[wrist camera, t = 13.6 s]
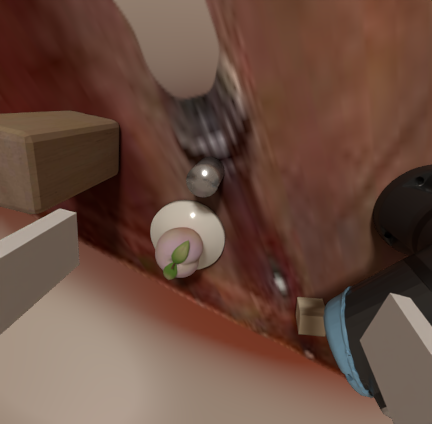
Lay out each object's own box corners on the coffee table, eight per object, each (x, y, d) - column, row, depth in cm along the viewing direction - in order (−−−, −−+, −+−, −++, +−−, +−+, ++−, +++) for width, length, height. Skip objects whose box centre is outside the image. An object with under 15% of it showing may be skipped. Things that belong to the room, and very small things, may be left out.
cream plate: (232, 210, 47) (231, 213, 46) (217, 273, 54) (216, 277, 52) (156, 191, 48) (153, 194, 47) (150, 255, 55) (147, 259, 53)
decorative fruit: (172, 210, 48) (151, 235, 39) (213, 224, 47) (201, 253, 38) (162, 249, 52) (141, 280, 43) (199, 263, 51) (186, 297, 42)
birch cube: (322, 298, 52) (328, 317, 47) (319, 316, 54) (325, 336, 49) (297, 296, 53) (300, 315, 48) (295, 314, 55) (298, 334, 50)
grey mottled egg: (227, 160, 44) (221, 170, 37) (221, 187, 46) (214, 200, 39) (199, 153, 44) (188, 162, 38) (195, 180, 46) (184, 193, 40)
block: (72, 163, 49) (-39, 200, 31) (69, 109, 45) (-62, 114, 27) (120, 175, 48) (35, 219, 30) (121, 120, 44) (23, 134, 26)
